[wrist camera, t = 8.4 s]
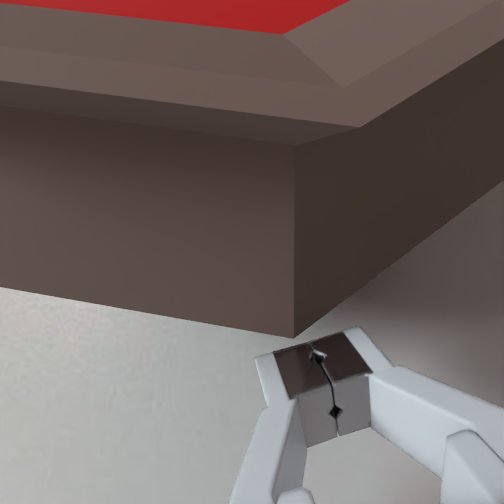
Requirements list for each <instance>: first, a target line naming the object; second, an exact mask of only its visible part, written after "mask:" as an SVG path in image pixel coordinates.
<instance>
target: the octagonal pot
mask: <svg viewBox="0 0 504 504" xmlns="http://www.w3.org/2000/svg"><path fill="white" fill-rule="evenodd" d="M503 180H504V0H0V287H4V288H9V289H15V290H21V291H26V292H32V293H38V294H44V295H49V296H55V297H61V298H66V299H72V300H78V301H83V302H89V303H95V304H100V305H106V306H112V307H117V308H123V309H129V310H134V311H140V312H146V313H151V314H157V315H163V316H169V317H174V318H180V319H186V320H191V321H197V322H203V323H208V324H214V325H220V326H225V327H231V328H237V329H242V330H248V331H254V332H259V333H265V334H271V335H276V336H282V337H288V338H295V337H296V336H298V335H299V334H300V333H302V332H303V331H304V330H305V329H307V328H308V327H309V326H311V325H312V324H313V323H315V322H316V321H317V320H319V319H320V318H321V317H323V316H324V315H325V314H327V313H328V312H329V311H331V310H332V309H333V308H335V307H336V306H337V305H339V304H340V303H341V302H343V301H344V300H345V299H346V298H348V297H349V296H350V295H352V294H353V293H354V292H356V291H357V290H358V289H360V288H361V287H362V286H364V285H365V284H366V283H368V282H369V281H370V280H372V279H373V278H374V277H376V276H377V275H378V274H380V273H381V272H382V271H384V270H385V269H386V268H387V267H389V266H390V265H391V264H393V263H394V262H395V261H397V260H398V259H399V258H401V257H402V256H403V255H405V254H406V253H407V252H409V251H410V250H411V249H413V248H414V247H415V246H417V245H418V244H419V243H421V242H422V241H423V240H425V239H426V238H427V237H428V236H430V235H431V234H432V233H434V232H435V231H436V230H438V229H439V228H440V227H442V226H443V225H444V224H446V223H447V222H448V221H450V220H451V219H452V218H454V217H455V216H456V215H458V214H459V213H460V212H462V211H463V210H464V209H466V208H467V207H468V206H469V205H471V204H472V203H473V202H475V201H476V200H477V199H479V198H480V197H481V196H483V195H484V194H485V193H487V192H488V191H489V190H491V189H492V188H493V187H495V186H496V185H497V184H499V183H500V182H501V181H503Z"/></svg>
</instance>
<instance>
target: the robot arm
mask: <svg viewBox="0 0 504 504" xmlns="http://www.w3.org/2000/svg"><path fill="white" fill-rule="evenodd" d="M255 363H256V367H257V370H258V374H259V378H260V382H261V386H262V389H263V393H264V397H265V401H266V405H267V407H266V408H263V409H262V411H261V414H260V417H259V420H258V422H257V425H256V428H255V431H254V433H253V436H252V439H251V442H250V445H249V447H248V450H247V453H246V456H245V458H244V461H243V464H242V467H241V469H240V472H239V475H238V478H237V480H236V483H235V486H234V489H233V492H232V494H231V497H230V500H229V503H228V504H315V502H314V499H313V497H312V494H311V491H310V490H308V489H306V488H304V487H302V483H303V476H304V469H305V463H306V456H307V448H308V447H311V446H314V445H316V444H319V443H322V442H325V441H327V440H330V439H333V438H335V437H338V436H337V432H338V434H339V436H341V435H345V434H348V433H351V432H355V431H358V430H361V429H364V428H368V427H371V428H372V429H373V430H375V431H376V432H377V433H379V434H380V435H382V436H383V437H384V438H386V439H387V440H388V441H390V442H391V443H393V444H394V445H395V446H397V447H398V448H400V449H401V450H402V451H404V452H405V453H406V454H408V455H409V456H411V457H412V458H413V459H415V460H416V461H418V462H419V463H420V464H422V465H423V466H425V467H426V468H427V469H429V470H430V471H431V472H433V473H434V474H436V475H437V476H438V477H440V478H441V479H442V484H441V494H440V504H504V408H502V407H499V406H497V405H495V404H492V403H490V402H487V401H485V400H483V399H480V398H478V397H476V396H473V395H471V394H468V393H466V392H464V391H461V390H459V389H456V388H454V387H452V386H449V385H447V384H444V383H442V382H440V381H437V380H435V379H433V378H430V377H428V376H425V375H423V374H421V373H418V372H416V371H413V370H411V369H409V368H406V367H404V366H401V365H398V366H394V365H393V364H392V363H391V362H390V361H389V359H388V358H387V357H386V356H385V355H384V354H383V352H382V351H381V350H380V349H379V348H378V347H377V345H376V344H375V343H374V342H373V341H372V340H371V338H370V337H369V336H368V335H367V334H366V333H365V331H364V330H363V329H362V328H361V327H359V326H356V327H352V328H349V329H346V330H343V331H341V332H337V333H334V334H331V335H328V336H324V337H321V338H318V339H315V340H312V341H308V342H306V343H302V344H298V345H295V346H291V347H288V348H284V349H280V350H277V351H273V352H271V353H268V354H264V355H260V356H256V357H255Z"/></svg>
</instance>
